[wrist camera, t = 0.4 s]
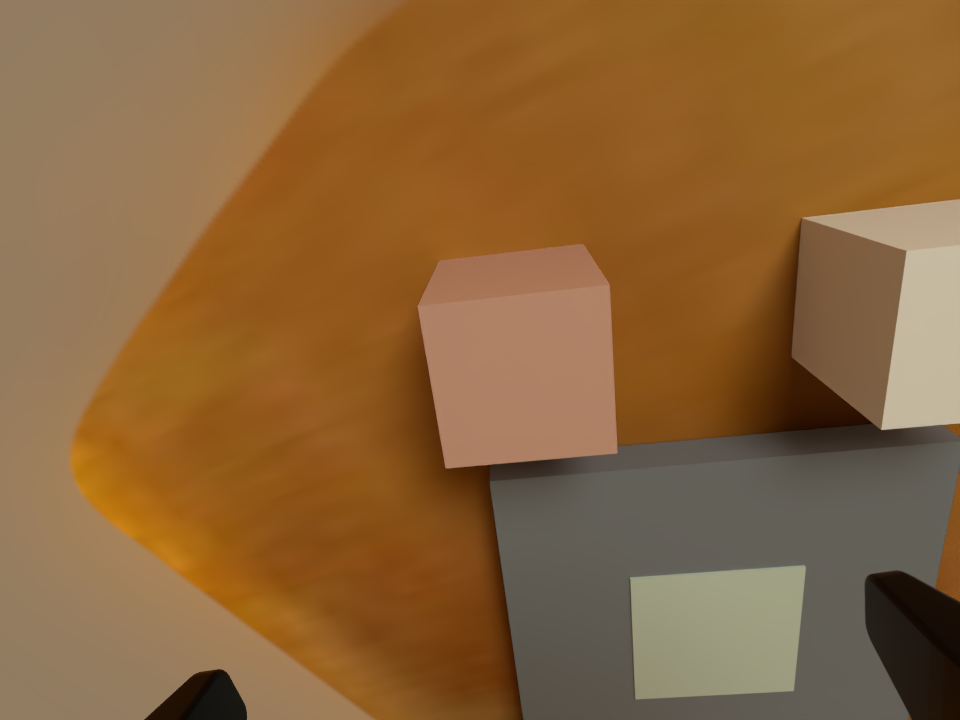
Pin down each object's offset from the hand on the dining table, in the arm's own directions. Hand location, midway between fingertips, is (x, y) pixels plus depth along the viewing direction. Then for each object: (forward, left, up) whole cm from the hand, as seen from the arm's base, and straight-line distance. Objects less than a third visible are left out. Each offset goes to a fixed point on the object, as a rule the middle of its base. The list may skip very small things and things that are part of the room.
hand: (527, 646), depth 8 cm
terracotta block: (0, -1, -12) cm, 12 cm away
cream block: (-11, -1, -12) cm, 17 cm away
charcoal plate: (-6, +12, -12) cm, 18 cm away
